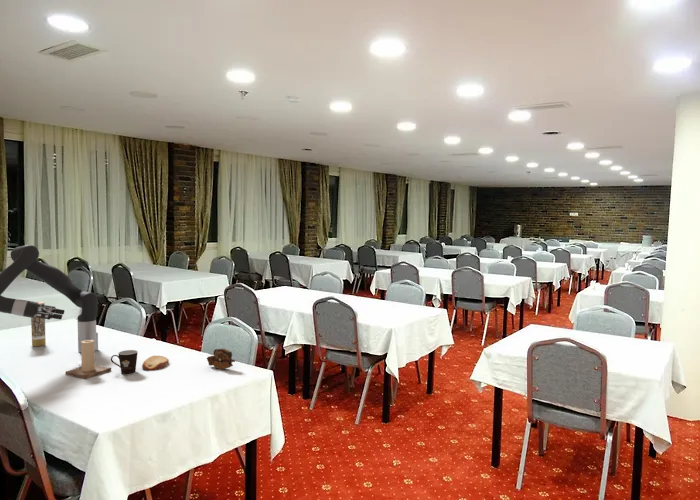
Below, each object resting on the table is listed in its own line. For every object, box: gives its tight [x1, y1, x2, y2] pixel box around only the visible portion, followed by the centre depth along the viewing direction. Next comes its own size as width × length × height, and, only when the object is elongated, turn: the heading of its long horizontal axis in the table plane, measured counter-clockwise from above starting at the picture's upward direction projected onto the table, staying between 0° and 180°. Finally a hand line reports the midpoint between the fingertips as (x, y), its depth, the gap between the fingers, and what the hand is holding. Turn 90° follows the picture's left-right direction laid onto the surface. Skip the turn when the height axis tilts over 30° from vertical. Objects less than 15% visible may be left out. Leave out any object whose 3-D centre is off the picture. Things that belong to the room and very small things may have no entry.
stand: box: [65, 364, 112, 380], centre depth 249 cm, size 14×14×8 cm
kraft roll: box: [80, 340, 96, 372], centre depth 249 cm, size 5×5×14 cm
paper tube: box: [30, 301, 47, 347], centre depth 299 cm, size 7×7×25 cm
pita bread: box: [141, 355, 169, 372], centre depth 264 cm, size 18×18×4 cm
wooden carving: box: [206, 348, 236, 370], centre depth 258 cm, size 16×5×10 cm, turn 70°
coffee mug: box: [110, 349, 139, 375], centre depth 251 cm, size 12×9×10 cm
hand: (63, 314), depth 248 cm, fingers open, 8 cm apart
